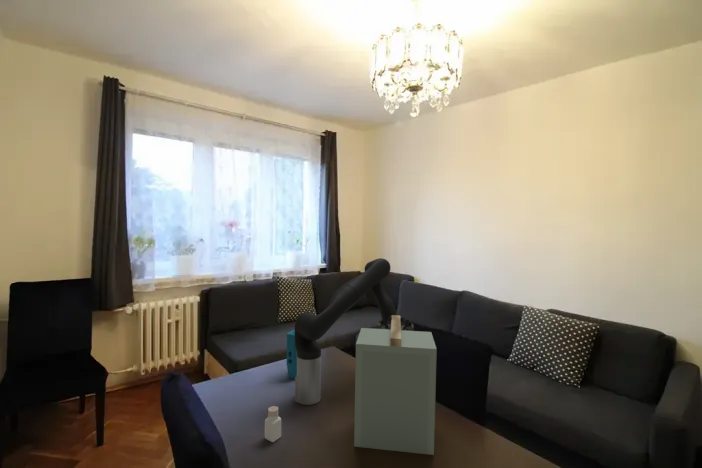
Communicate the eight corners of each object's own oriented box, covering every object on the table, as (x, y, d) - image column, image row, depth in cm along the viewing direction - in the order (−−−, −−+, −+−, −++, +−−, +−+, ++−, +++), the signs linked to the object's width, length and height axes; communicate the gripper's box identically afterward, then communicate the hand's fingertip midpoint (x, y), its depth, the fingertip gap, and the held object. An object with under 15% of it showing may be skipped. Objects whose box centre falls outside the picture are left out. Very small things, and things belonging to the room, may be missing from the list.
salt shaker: (263, 438, 108) (264, 409, 108) (273, 432, 112) (273, 404, 111) (272, 443, 106) (273, 413, 106) (282, 437, 109) (282, 407, 109)
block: (294, 381, 148) (295, 335, 147) (285, 378, 150) (285, 333, 149) (310, 370, 158) (311, 328, 158) (301, 368, 161) (302, 326, 160)
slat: (390, 346, 103) (390, 338, 103) (391, 321, 129) (391, 315, 129) (401, 346, 102) (401, 338, 102) (400, 321, 128) (400, 315, 128)
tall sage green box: (354, 446, 105) (355, 343, 104) (359, 417, 121) (361, 327, 120) (433, 455, 102) (436, 349, 101) (428, 423, 118) (431, 332, 117)
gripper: (378, 320, 140) (376, 308, 124) (413, 322, 138) (416, 310, 123) (377, 338, 136) (375, 328, 121) (413, 341, 134) (416, 331, 119)
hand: (396, 319), depth 122 cm, fingers closed on slat, 3 cm apart
